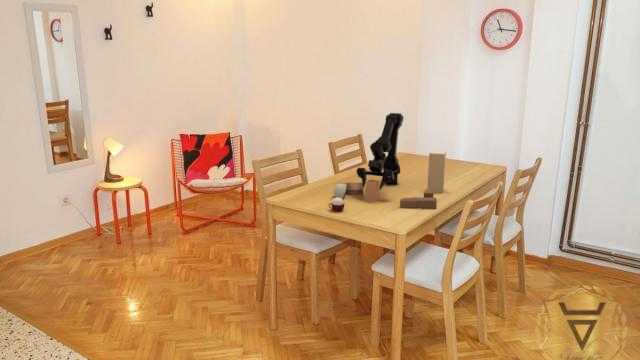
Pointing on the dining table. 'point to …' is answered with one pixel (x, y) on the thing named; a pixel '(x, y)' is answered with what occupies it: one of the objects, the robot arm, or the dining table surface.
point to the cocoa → (338, 203)
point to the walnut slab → (354, 189)
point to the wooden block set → (420, 201)
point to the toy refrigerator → (436, 171)
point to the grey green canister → (339, 190)
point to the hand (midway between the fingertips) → (371, 188)
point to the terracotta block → (372, 190)
